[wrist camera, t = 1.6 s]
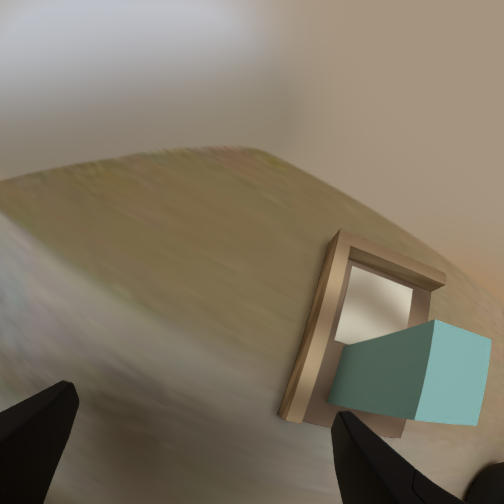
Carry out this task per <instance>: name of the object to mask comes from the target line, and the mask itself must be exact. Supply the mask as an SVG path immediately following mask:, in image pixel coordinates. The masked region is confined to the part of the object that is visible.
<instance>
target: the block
mask: <svg viewBox="0 0 504 504" xmlns="http://www.w3.org/2000/svg"><path fill="white" fill-rule="evenodd" d="M491 341H492V340H491V339H489V338H486V337H483V336H480V335H477V334H475V333H472V332H469V331H466V330H463V329H461V328H458V327H455V326H452V325H450V324H447V323H444V322H441V321H438V320H436V319H434V320H431V321H429V322H426V323H423V324H420V325H416V326H413V327H410V328H407V329H404V330H401V331H397V332H394V333H391V334H387V335H384V336H380V337H377V338H373V339H369V340H366V341H362V342H358V343H354V344H350V345H346V346H343V350H342V354H341V357H340V361H339V364H338V368H337V371H336V375H335V378H334V381H333V385H332V388H331V391H330V394H329V397H328V400H327V403H329V404H334V405H338V406H342V407H346V408H351V409H356V410H360V411H365V412H370V413H375V414H381V415H386V416H392V417H398V418H404V419H411V420H418V421H427V422H436V423H447V424H459V425H477V422H478V418H479V414H480V410H481V405H482V401H483V396H484V391H485V385H486V379H487V373H488V366H489V359H490V351H491Z"/></svg>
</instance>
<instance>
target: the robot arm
mask: <svg viewBox="0 0 504 504" xmlns="http://www.w3.org/2000/svg"><path fill="white" fill-rule="evenodd" d="M78 406H79V398H78V395H77V392H76V389H75V386H74V384H73V383H71V382H68V381H64V380H63V381H60V382H58V383H56V384H55V385H53V386H51V387H49V388H47V389H45V390H43V391H41V392H39V393H37V394H35V395H33V396H31V397H30V398H28V399H26V400H24V401H22V402H20V403H18V404H16V405H14V406H12V407H10V408H8V409H6V410H4V411H2V412H0V504H43V503H44V500H45V497H46V494H47V492H48V489H49V486H50V483H51V481H52V478H53V476H54V473H55V470H56V468H57V465H58V463H59V460H60V458H61V455H62V453H63V450H64V448H65V446H66V443H67V441H68V438H69V435H70V432H71V429H72V426H73V422H74V419H75V416H76V413H77V410H78ZM331 436H332V445H333V455H334V465H335V471H336V476H337V480H338V485H339V489H340V493H341V498H342V502H343V504H467V503H465V502H464V501H462V500H460V499H459V498H457V497H455V496H454V495H452V494H450V493H449V492H447V491H445V490H444V489H442V488H441V487H439V486H438V485H436V484H435V483H433V482H432V481H431V480H429V479H428V478H427V477H426V476H424V475H423V474H422V473H421V472H419V471H418V470H417V469H415V467H413V466H412V465H411V464H410V463H409V462H408V461H406V460H405V459H404V458H403V457H402V456H401V455H399V454H398V453H397V452H396V451H395V450H394V449H393V448H391V447H390V446H389V445H388V444H387V443H386V442H385V441H383V440H382V439H381V438H380V437H379V436H378V435H377V434H376V433H374V432H373V431H372V430H371V429H370V428H369V427H368V426H367V425H366V424H364V423H363V422H362V421H361V420H360V419H359V418H358V417H357V416H356V415H355V414H354V413H352V412H351V411H350V410H344V411H338V412H337V414H336V416H335V419H334V421H333V424H332V427H331Z"/></svg>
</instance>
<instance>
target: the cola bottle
mask: <svg viewBox="0 0 504 504" xmlns="http://www.w3.org/2000/svg"><path fill="white" fill-rule="evenodd" d="M465 503H467V504H504V462H502V463H497V464H494V465H492V466H490V467H488V468H487V469H486V470H484V471H483V472H482V473H481V474H480V475H479V477H478V478H477V479H476V481H475V482H474V483H473V485H472V487H471V489H470V491H469V493H468V495H467V498H466V502H465Z"/></svg>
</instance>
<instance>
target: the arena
mask: <svg viewBox="0 0 504 504" xmlns="http://www.w3.org/2000/svg"><path fill="white" fill-rule="evenodd" d="M445 282H446V273H444V272H441V271H439V270H437V269H435V268H433V267H430V266H428V265H426V264H424V263H421V262H419V261H417V260H415V259H412V258H410V257H408V256H405V255H403V254H401V253H398V252H396V251H394V250H391V249H389V248H387V247H384V246H382V245H379V244H377V243H375V242H372V241H370V240H367V239H365V238H362V237H360V236H358V235H355V234H353V233H350V232H348V231H345V230H342V229H340V230H339V231H338V232H337V234H336V235H335V236H334V237H333V239H332V240H331V241H330V242H329V245H328V249H327V253H326V257H325V261H324V265H323V268H322V272H321V276H320V280H319V284H318V287H317V291H316V295H315V298H314V302H313V305H312V309H311V312H310V316H309V319H308V323H307V326H306V329H305V333H304V336H303V339H302V343H301V346H300V349H299V352H298V355H297V358H296V362H295V365H294V368H293V371H292V374H291V377H290V380H289V383H288V386H287V389H286V392H285V394H284V397H283V400H282V403H281V406H280V409H279V411H278V415H279V416H280V417H282V418H283V419H285V420H287V421H291V422H295V423H299V424H301V423H302V421H303V422H307V423H311V424H316V425H320V426H325V427H330V428H331V427H332V424H333V421H334V419H335V416H336V414H337V412H338V411H344V410H350V411H351V412H352V413H354V414H355V415H356V416H357V417H358V418H359V419H360V420H361V421H362V422H363V423H364V424H366V425H367V426H368V427H369V428H370V429H371V430H372V431H373V432H374V433H376V434H377V435H378V436H385V437H393V438H401V435H402V432H403V429H404V426H405V423H406V419H404V418H398V417H392V416H386V415H381V414H375V413H370V412H365V411H360V410H356V409H351V408H346V407H342V406H338V405H334V404H329V403H327V400H328V397H329V394H330V391H331V388H332V385H333V381H334V378H335V375H336V371H337V368H338V364H339V361H340V357H341V354H342V350H343V346H346V345H350V344H354V343H358V342H362V341H366V340H369V339H373V338H377V337H380V336H384V335H387V334H391V333H394V332H397V331H401V330H404V329H407V328H410V327H413V326H416V325H420V324H423V323H426V322H428V314H429V306H430V297H431V292H432V291H434V290H436V289H438V288H440V287H442V286H444V285H445Z"/></svg>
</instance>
